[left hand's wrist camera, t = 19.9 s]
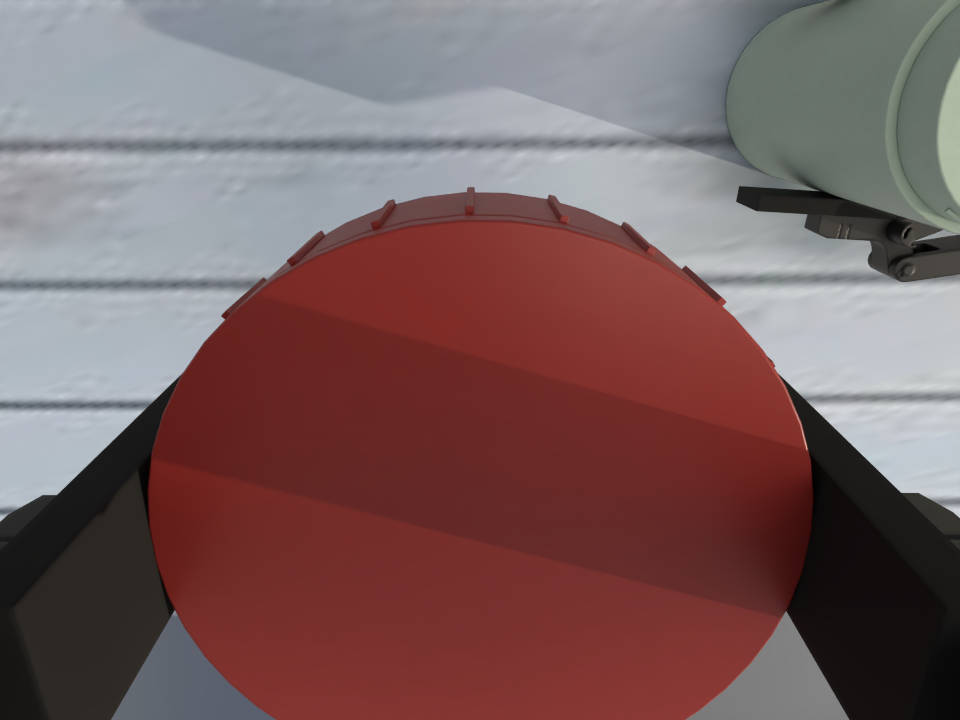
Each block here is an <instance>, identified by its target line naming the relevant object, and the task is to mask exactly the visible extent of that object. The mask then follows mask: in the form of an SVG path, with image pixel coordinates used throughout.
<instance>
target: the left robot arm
mask: <svg viewBox="0 0 960 720" xmlns="http://www.w3.org/2000/svg"><path fill="white" fill-rule="evenodd" d="M182 374H183V373H182ZM182 374H181V375H182ZM181 375H180V376H179V377H178V378H177V379H176V380H175V381H174V382H173V383H172V384H171V385H170V386H169V387H168V388H167V389H166V390H165V391H164V392H163V393H162V394H161V395H160V396H159V397H158V398H157V399H156V400H155V401H154V402H153V403H152V404H151V405H149V406H148V407H147V408H146V409H145V410H144V411H143V412H142V413H141V414H140V415H139V416H138V417H137V418H136V419H135V420H134V421H133V422H132V423H131V424H130V425H129V426H128V427H127V428H126V429H125V430H124V431H123V432H122V433H121V434H120V435H119V436H118V437H116V438H115V439H114V440H113V441H112V442H111V443H110V444H109V445H108V446H107V447H106V448H105V449H104V450H103V451H102V452H101V453H100V454H99V455H98V456H97V457H96V458H95V459H94V460H93V461H92V462H91V463H90V464H89V465H88V466H87V467H86V468H85V469H83V470H82V471H81V472H80V473H79V474H78V475H77V476H76V477H75V478H74V479H73V480H72V481H71V482H70V483H69V484H68V485H67V486H66V487H65V488H64V489H63V490H62V491H61V492H60V493H59V494H58V495H42V496H41V497H39V498H37V499H35V500H33V501H32V502H30V503H28V504H26V505H25V506H23V507H21V508H19V509H17V510H16V511H14V512H12V513H10V514H8V515H7V516H6V517H5V518H4V519H3V520H2V521H1V522H0V720H111V719H112V717H113V715H114V713H115V712H116V710H117V708H118V707H119V705H120V703H121V701H122V700H123V698H124V696H125V695H126V693H127V691H128V689H129V688H130V686H131V684H132V682H133V681H134V679H135V677H136V676H137V674H138V672H139V670H140V669H141V667H142V665H143V664H144V662H145V660H146V658H147V657H148V655H149V653H150V652H151V650H152V648H153V646H154V645H155V643H156V641H157V639H158V638H159V636H160V634H161V633H162V631H163V629H164V627H165V626H166V624H167V622H168V621H169V619H170V617H171V615H172V614H173V612H174V610H175V609H174V607H173V605H172V603H171V601H170V599H169V597H168V595H167V592H166V590H165V587H164V584H163V581H162V578H161V576H160V573H159V570H158V567H157V563H156V558H155V553H154V549H153V544H152V539H151V534H150V530H149V516H148V491H147V490H148V481H149V473H150V464H151V456H152V450H153V446H154V443H155V440H156V436H157V433H158V429H159V426H160V422H161V419H162V415H163V413H164V411H165V408H166V406H167V404H168V402H169V400H170V398H171V396H172V394H173V392H174V389H175V387H176V385H177V383H178V381H179V379H180V377H181ZM778 375H779V374H778ZM779 376H780V375H779ZM780 378H781V380H782V381H783V383H784V384H785V386H786V388H787V391H788V393H789V395H790V398H791V400H792V402H793V405H794V407H795V409H796V412H797V414H798V416H799V419H800V421H801V424H802V428H803V432H804V436H805V440H806V444H807V448H808V452H809V456H810V460H811V471H812V483H813V495H814V503H813V516H812V528H811V534H810V539H809V543H808V548H807V552H806V557H805V561H804V566H803V570H802V574H801V577H800V579H799V582H798V584H797V587H796V589H795V592H794V594H793V597H792V599H791V602H790V604H789V606H788V608H787V610H786V611H787V613H788V615H789V616H790V618H791V620H792V622H793V623H794V625H795V627H796V628H797V630H798V632H799V634H800V635H801V637H802V639H803V640H804V642H805V644H806V646H807V647H808V649H809V651H810V653H811V654H812V656H813V658H814V659H815V661H816V663H817V665H818V666H819V668H820V670H821V671H822V673H823V675H824V677H825V678H826V680H827V682H828V683H829V685H830V687H831V689H832V690H833V692H834V694H835V695H836V697H837V699H838V700H839V702H840V704H841V706H842V708H843V709H844V711H845V713H846V714H847V716H848V718H849V720H960V518H959V517H958V516H957V515H955V514H954V513H953V512H952V511H950V510H948V509H946V508H944V507H943V506H941V505H939V504H937V503H935V502H934V501H932V500H930V499H928V498H926V497H925V496H923V495H921V494H919V493H901V492H900V491H899V490H898V489H897V488H896V487H895V486H893V485H892V484H891V483H890V482H889V481H888V480H887V479H886V478H885V477H884V476H883V475H882V474H881V473H880V472H879V471H878V470H877V469H876V468H875V467H874V466H873V465H872V464H871V463H870V462H869V461H868V460H867V459H866V458H865V457H864V456H863V455H862V454H860V453H859V452H858V451H857V450H856V449H855V448H854V447H853V446H852V445H851V444H850V443H849V442H848V441H847V440H846V439H845V438H844V437H843V436H842V435H841V434H840V433H839V432H838V431H837V430H836V429H835V428H834V427H833V426H832V425H831V424H830V423H829V422H827V421H826V420H825V419H824V418H823V417H822V416H821V415H820V414H819V413H818V412H817V411H816V410H815V409H814V408H813V407H812V406H811V405H810V404H809V403H808V402H807V401H806V400H805V399H804V398H803V397H802V396H801V395H800V394H799V393H798V392H797V391H796V390H794V389H793V388H792V387H791V386H790V385H789V384H788V383H787V382H786V381H785V380H784V379H783V378H782V377H781V376H780Z"/></svg>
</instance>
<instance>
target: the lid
mask: <svg viewBox="0 0 960 720" xmlns="http://www.w3.org/2000/svg"><path fill="white" fill-rule="evenodd" d="M725 303H726V301H725V300H724V299H723V298H722V297H721V296H720V295H719V294H717V293H716V292H715V291H714V290H713V289H712V288H711V287H710V286H708V285H707V284H706V283H705V282H704V281H703V280H702V279H700V278H699V277H698V276H697V275H696V274H695V273H694V272H692V271H691V270H690V269H689V268H688V267H687V266H685V267H684V268H683V269H681V268H679V267H678V266H677V265H676V264H675V263H674V262H672V261H671V260H670V259H669V258H668V257H666V256H665V255H664V254H663V253H662V252H661V251H659V250H658V249H657V248H656V247H654V246H653V245H651V244H649V243H648V242H647V241H646V240H645V239H644V238H643V237H642V236H641V235H640V234H639V233H638V232H636V231H635V230H634V229H633V228H632V227H631V226H630V225H629V224H627V223H625V222H623V224H622V226H620V225H617V224H615V223H613V222H611V221H609V220H606V219H604V218H602V217H600V216H597V215H595V214H593V213H591V212H588V211H586V210H583V209H579V208H576V207H572V206H569V205H565V204H562V203H560V202H559V201H558V200H557V198H556V197H555V196H552V195H549V196H548V199H543V198H536V197H529V196H523V195H516V194H510V193H475V188H474V187H468V188H467V192H463V193H455V194H446V195H438V196H429V197H422V198H418V199H414V200H411V201H407V202H403V203H399V204H395V201H394V199H393V200H390V201H387V203H386V204H385V205H384V206H383V208H381V209H379V210H376V211H374V212H371V213H369V214H366V215H364V216H361V217H359V218H357V219H354V220H352V221H349V222H347V223H345V224H343V225H341V226H340V227H338V228H336V229H335V230H333V231H331V232H329V233H328V234H326V235H324V233H323V232H322V231H320V232H318V233H317V234H316V235H315V236H313V237H312V238H311V239H310V240H309V241H308V242H307V243H306V244H305V245H303V246H302V247H301V248H300V249H299V250H298V251H297V252H296V253H295V254H294V255H292V256H291V257H290V258H289V259H288V260H287V263H286V264H284V265H283V266H282V267H281V268H280V269H279V270H278V271H276V272H275V273H274V274H273V275H272V276H271V277H270V278H269V279H268V280H266V279H265V278H262V279H261V280H260V281H259V282H258V283H257V284H255V285H254V286H253V287H252V288H251V289H250V290H249V291H248V292H246V293H245V294H244V295H243V296H242V297H241V298H240V299H239V300H237V301H236V302H235V303H234V304H233V305H232V306H231V307H230V308H228V309H227V310H226V311H225V312H224V313H223V314H222V317H223V318H224V319H225V321H224V322H223V323H222V324H221V325H220V326H219V327H218V328H217V329H216V330H215V331H214V332H213V333H212V334H211V335H210V337H209V338H208V339H207V340H206V341H205V342H204V343H203V345H202V346H201V348H200V349H199V351H198V352H197V353H196V355H195V356H194V358H193V359H192V361H191V362H190V364H189V365H188V367H187V368H186V370H185V371H184V372H183V374H182V375H181V377H180V379H179V381H178V383H177V385H176V387H175V389H174V392H173V394H172V396H171V398H170V400H169V402H168V404H167V406H166V408H165V411H164V413H163V415H162V419H161V422H160V426H159V429H158V433H157V436H156V440H155V443H154V446H153V450H152V456H151V464H150V473H149V481H148V490H147V491H148V516H149V530H150V534H151V539H152V544H153V549H154V553H155V558H156V563H157V567H158V570H159V573H160V576H161V578H162V581H163V584H164V587H165V590H166V592H167V595H168V597H169V599H170V601H171V603H172V605H173V607H174V609H175V611H176V613H177V615H178V616H179V618H180V620H181V622H182V624H183V626H184V628H185V629H186V631H187V632H188V633H189V635H190V636H191V638H192V639H193V641H194V642H195V643H196V645H197V646H198V648H199V649H200V650H201V652H202V653H203V655H204V656H205V657H206V658H207V659H208V661H209V662H210V663H211V664H212V665H213V666H214V667H215V668H216V669H217V670H218V671H219V672H220V673H221V675H222V676H223V677H224V678H225V679H226V680H227V681H228V682H229V683H230V684H231V685H232V686H233V687H234V688H236V689H237V690H238V691H239V692H240V693H241V694H243V695H244V696H245V697H246V698H247V699H248V700H250V701H251V702H252V703H253V704H254V705H256V706H257V707H258V708H260V709H261V710H263V711H264V712H266V713H267V714H268V715H270V716H271V717H273V718H274V719H276V720H685V719H687V718H688V717H690V716H692V715H693V714H695V713H696V712H698V711H699V710H700V709H701V708H703V707H704V706H705V705H706V704H708V703H709V702H710V701H711V700H713V699H714V698H715V697H716V696H718V695H719V694H720V693H721V692H722V691H724V690H725V689H726V688H727V687H728V686H729V685H730V684H731V683H732V682H733V681H734V680H735V679H736V678H737V677H738V676H739V675H740V674H741V673H742V672H743V671H744V670H745V669H746V668H747V667H748V665H750V663H751V662H752V661H753V659H754V658H755V657H756V655H757V654H758V653H759V652H760V650H761V649H762V648H763V646H764V645H765V644H766V642H767V641H768V640H769V638H770V637H771V636H772V634H773V632H774V631H775V629H776V627H777V625H778V624H779V622H780V620H781V618H782V617H783V615H784V613H785V611H786V610H787V608H788V606H789V604H790V602H791V599H792V597H793V594H794V592H795V589H796V587H797V584H798V582H799V579H800V577H801V574H802V570H803V566H804V561H805V557H806V552H807V548H808V543H809V539H810V534H811V528H812V516H813V503H814V495H813V483H812V471H811V460H810V456H809V452H808V448H807V444H806V440H805V436H804V432H803V428H802V424H801V421H800V419H799V416H798V414H797V412H796V409H795V407H794V405H793V402H792V400H791V398H790V395H789V393H788V391H787V388H786V386H785V384H784V383H783V381H782V380H781V378H780V376H779V375H778V373H777V372H776V370H775V368H774V367H775V365H774V363H773V361H772V360H771V359H770V358H769V357H767V356H766V354H765V353H764V351H763V350H762V348H761V347H760V346H759V345H758V344H757V343H756V342H755V340H754V339H753V338H752V337H751V336H750V335H749V334H748V332H747V331H746V330H745V329H744V328H743V327H742V326H741V324H740V323H739V322H738V321H737V320H736V319H735V318H734V317H733V316H732V315H731V314H730V313H729V312H728V311H727V310H726V309H724V307H722V306H723V305H724V304H725Z"/></svg>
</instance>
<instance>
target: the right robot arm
mask: <svg viewBox="0 0 960 720" xmlns="http://www.w3.org/2000/svg"><path fill="white" fill-rule="evenodd" d="M736 202H738V203H740V204H742V205H745V206H747V207H749V208H751V209H753V210H755V211H764V212H781V213H797V214H807V219H806V223H805V227H804V228H806V229H808V230H810V231H812V232H814V233H816V234H819V235H821V236H823V237H825V238H834V239H851V240H867V241H870V242H871V246H872V252H871V253H870V255H869V257H868V264H869V266H870V267H871V268H873V269H875V270H877V271H879V272H881V273H883V274H885V275H887V276H890V277H892V278H894V279H896V280H898V281H901V282H910V281H916V280H923V279H930V278H937V277H944V276H951V275H957V274H960V235H955V236H948V237H941V238H935V239H928V240H921V241H915V240H918V239H920V238H923V237H926V236H928V235H931V234H934V233H936V232H939V231H942V230H943V229H940V228H937V227H933V226H930V225H927V224H924V223H921V222H917V221H914V220H911V219H908V218H905V217H901V216H898V215H895V214H892V213H889V212H885V211H882V210H879V209H876V208H873V207H870V206H866V205H863V204H860V203H857V202H854V201H850V200H847V199H844V198H841V197H838V196H834V195H831V194H828V193H825V192H822V191H807V190H791V189H775V188H759V187H743V186H739V190H738V195H737V200H736ZM914 241H915V242H914Z"/></svg>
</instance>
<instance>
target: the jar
mask: <svg viewBox="0 0 960 720" xmlns="http://www.w3.org/2000/svg"><path fill="white" fill-rule="evenodd" d="M726 118H727V124H728V129H729V132H730V135H731V138H732V140H733V142H734V144H735V146H736V148H737V149H738V151H739V152H740V154H741V155H742V156H743V157H744V158H745V159H746V160H747V161H748V162H749V163H750V164H751V165H753V166H754V167H755V168H757V169H758V170H760V171H762V172H763V173H766V174H768V175H771V176H774V177H777V178H780V179H783V180H787V181H790V182H793V183H796V184H799V185H802V186H806V187H809V188H812V189H815V190H818V191H822V192H825V193H828V194H831V195H834V196H838V197H841V198H844V199H847V200H850V201H854V202H857V203H860V204H863V205H866V206H870V207H873V208H876V209H879V210H882V211H885V212H889V213H892V214H895V215H898V216H901V217H905V218H908V219H911V220H914V221H917V222H921V223H924V224H927V225H930V226H933V227H937V228H940V229H943V230H946V231H949V232H953V233H957V234H960V0H830V1H825V2H821V3H817V4H813V5H809V6H805V7H801V8H798V9H795V10H792V11H790V12H788V13H786V14H784V15H782V16H780V17H778V18H777V19H775V20H773V21H772V22H770V23H769V24H768V25H767V26H765V27H764V28H763V29H762V30H761V31H760V32H759V33H758V34H757V35H756V36H755V37H754V38H753V39H752V40H751V41H750V43H749V44H748V45H747V47H746V48H745V49H744V51H743V52H742V54H741V56H740V57H739V59H738V61H737V63H736V65H735V67H734V70H733V72H732V75H731V78H730V81H729V85H728V90H727V96H726Z"/></svg>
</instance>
